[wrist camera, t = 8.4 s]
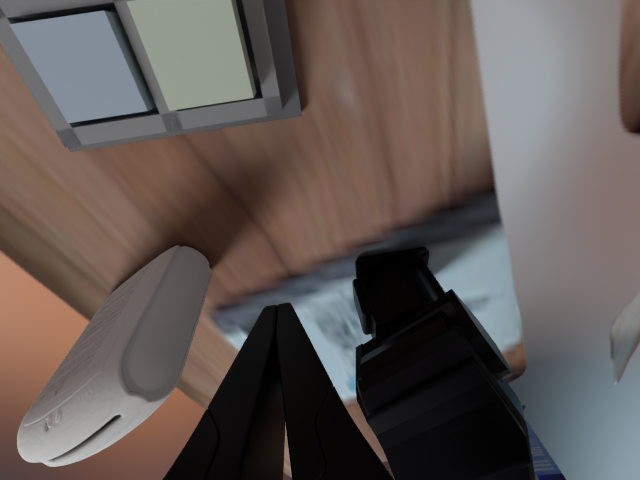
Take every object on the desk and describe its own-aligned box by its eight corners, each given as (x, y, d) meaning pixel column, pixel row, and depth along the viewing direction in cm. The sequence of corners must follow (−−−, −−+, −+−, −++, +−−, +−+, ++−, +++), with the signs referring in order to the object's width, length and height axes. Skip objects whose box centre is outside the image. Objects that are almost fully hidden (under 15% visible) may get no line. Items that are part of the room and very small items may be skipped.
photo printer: (143, 323, 27) (58, 494, 16) (98, 299, 24) (-32, 478, 14) (222, 266, 24) (180, 427, 14) (180, 233, 22) (93, 395, 12)
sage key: (234, -6, 13) (227, -14, 11) (256, 92, 15) (253, 97, 14) (146, 7, 13) (126, 1, 11) (181, 103, 15) (169, 110, 13)
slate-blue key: (125, 14, 14) (104, 10, 12) (161, 104, 16) (147, 110, 14) (41, 26, 14) (9, 24, 12) (89, 115, 16) (68, 123, 14)
